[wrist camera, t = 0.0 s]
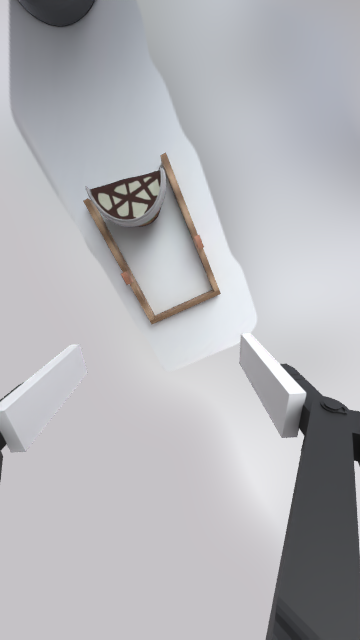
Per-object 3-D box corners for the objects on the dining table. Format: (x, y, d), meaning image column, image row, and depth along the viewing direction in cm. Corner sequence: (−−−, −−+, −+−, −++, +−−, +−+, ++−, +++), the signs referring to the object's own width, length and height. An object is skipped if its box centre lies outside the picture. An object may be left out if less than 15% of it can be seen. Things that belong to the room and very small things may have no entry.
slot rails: (89, 204, 35) (78, 197, 31) (166, 159, 33) (164, 146, 29) (153, 320, 43) (150, 327, 39) (218, 291, 41) (222, 295, 37)
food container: (118, 239, 37) (97, 233, 28) (107, 206, 35) (81, 187, 26) (175, 224, 36) (174, 213, 27) (168, 190, 34) (164, 164, 25)
